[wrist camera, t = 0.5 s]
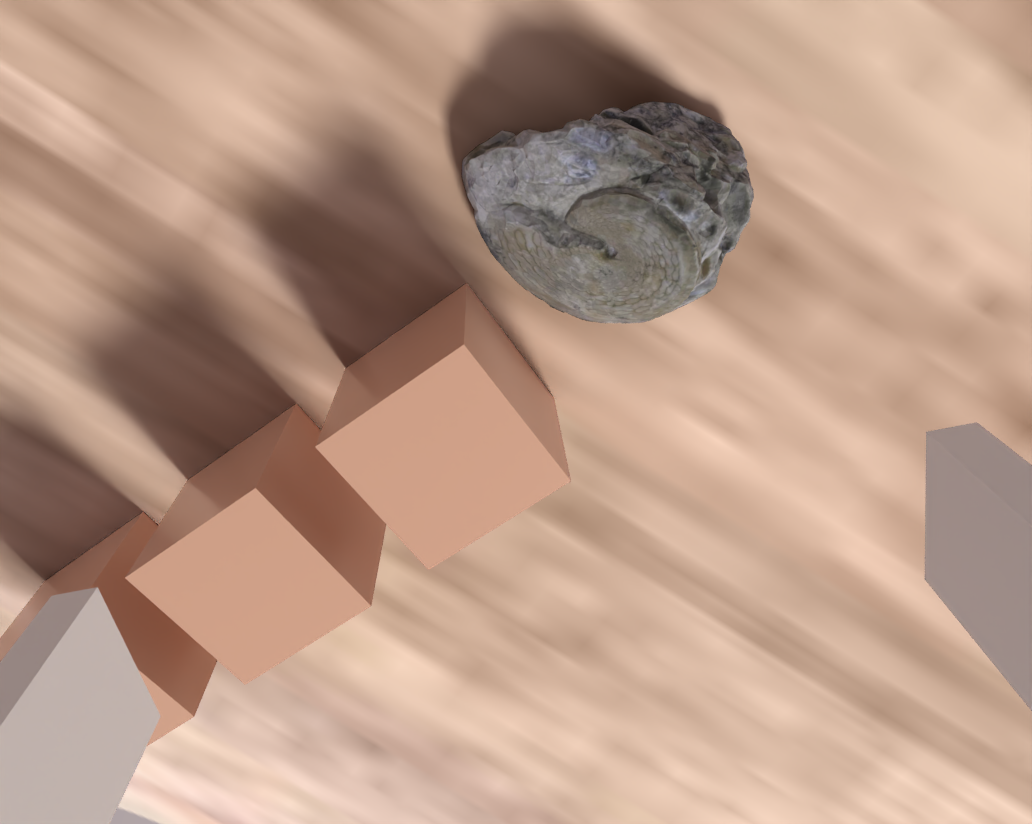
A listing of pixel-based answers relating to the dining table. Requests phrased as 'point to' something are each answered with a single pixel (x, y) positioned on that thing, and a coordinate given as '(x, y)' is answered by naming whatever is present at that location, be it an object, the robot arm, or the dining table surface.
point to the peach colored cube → (445, 430)
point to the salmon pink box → (132, 624)
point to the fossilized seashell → (613, 209)
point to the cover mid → (263, 550)
